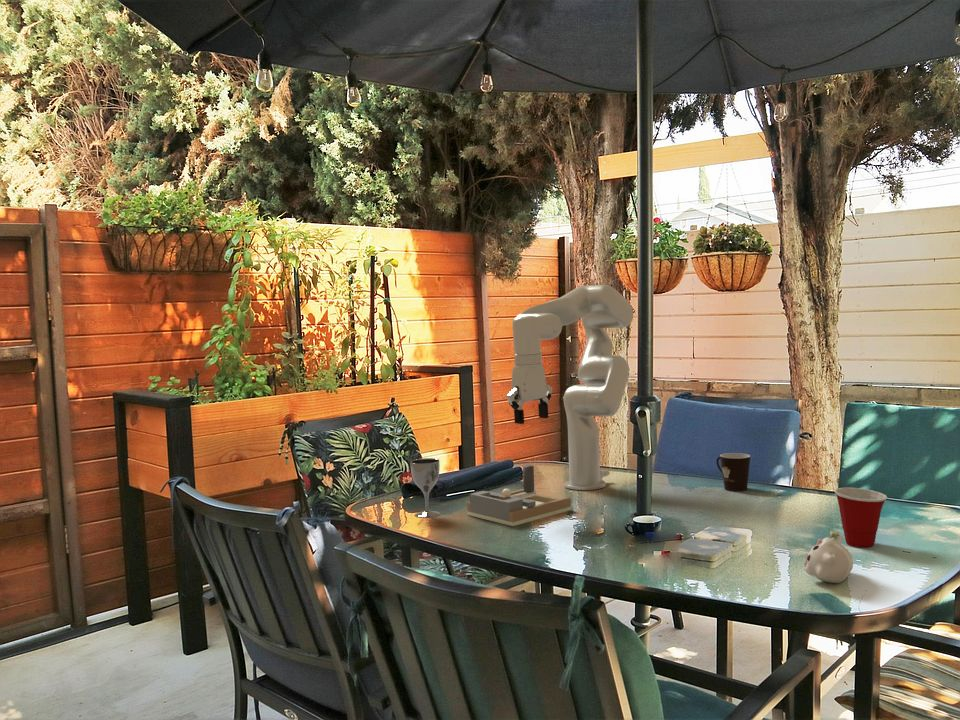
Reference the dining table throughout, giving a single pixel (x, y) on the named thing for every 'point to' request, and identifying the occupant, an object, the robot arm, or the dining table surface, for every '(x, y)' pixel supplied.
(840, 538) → the white bulbous lump
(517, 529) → the dining table surface
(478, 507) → the foosball lane
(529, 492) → the kicker rod
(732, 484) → the coffee mug
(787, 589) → the dining table surface
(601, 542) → the dining table surface
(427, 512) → the wine glass
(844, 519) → the plastic cup
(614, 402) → the robot arm
